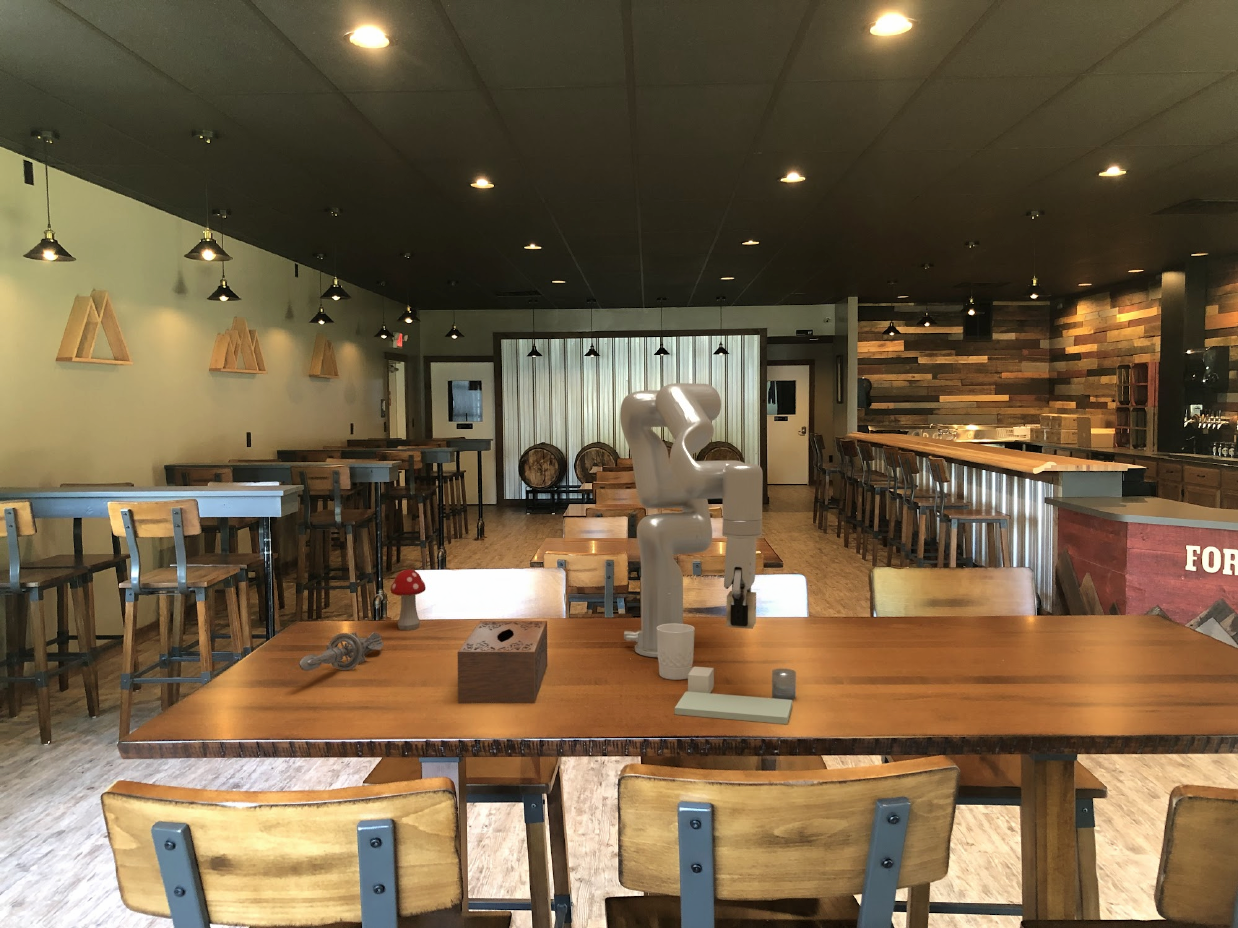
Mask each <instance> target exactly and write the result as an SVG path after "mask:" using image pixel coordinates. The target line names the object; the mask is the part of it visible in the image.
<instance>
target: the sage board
mask: <svg viewBox="0 0 1238 928" xmlns="http://www.w3.org/2000/svg"><path fill="white" fill-rule="evenodd" d="M792 708H793V701H792V700H786V699H774V698H772V697H770V698H769V697H761V696H759V697H758V696H748V695H734V694H723V693H712V692H711V693H699V692H688V690H687V691H685V692H684V694H683V695H682V696H681V697H680V699H679V700H678V703H677V704H676V705H675V706H674V715H676V716H677V715H678V716H687V717H688V716H690V717H700V718H701V717H702V718H712V719H713V718H714V719H723V720H732V721H733V720H735V721H745V722H749V721H750V722H758V723H769V724H778V725H779V724H780V725H788V724H789V719H790V716H791V712H792Z"/></svg>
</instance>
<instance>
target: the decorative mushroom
mask: <svg viewBox="0 0 1238 928" xmlns="http://www.w3.org/2000/svg"><path fill="white" fill-rule="evenodd" d="M425 591H426V584H425V581H424V580H423V579H422V576H421V575H420V574H419V572H417V571H416V570H414V569H410V568H409V569H404V570H402V571H400V572H399V573H398V574H397V575H396V577H395V579H394V581H393V583H392V584H391V585H390V593H391V595H395V596H397V597H398V596H399V597H400V614H399V618H398V621H397V627H398V629H399V631H412V630H417V629H419V626H420V623H421V621H420V619H419V615H418V610H417V603H416V601H417V599H416V596H417V595H420V594H422V593H424V592H425Z"/></svg>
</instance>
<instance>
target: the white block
mask: <svg viewBox="0 0 1238 928" xmlns="http://www.w3.org/2000/svg"><path fill="white" fill-rule="evenodd" d="M714 676H715V669H714V667H706V666H705V667H703V666H692V670H691V671H690V673H689V674H688V678H687V692H699V693H712V691H713V690H714V687H715V679H714V678H715V677H714Z"/></svg>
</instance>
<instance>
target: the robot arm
mask: <svg viewBox="0 0 1238 928" xmlns="http://www.w3.org/2000/svg"><path fill="white" fill-rule="evenodd" d="M721 409H722V400H721V396H720V394H719V392H718V391H717V389H716V388H715V387H714V386H712V385H711V384H707V383H694V382H693V383H691V382H689V383H688V382H687V383H686V382H685V383H683V382H677V383H670V384H667V385H664V386H662V387H661V388H660V389H659V390H657V389H656V390H655V389H653V390H652V389H649V390H648V389H647V390H638V391H633V392H631V393H629V394H627V395H625V397H624V398H623V399H622V402H621V405H620V409H619V410H620V411H619V414H620V415H619V418H620V426H621V429H622V430H621V431H622V433H623V436H624V438H625V441H626V444H627V445H628V448H629V451H630V455H631V461H632V467H633V473H634V474H633V476H634V481H635V489H636V493H637V498H638V501H639V503H640V504H641V506H642V507H643V508H646V509H653V510H654V509H656V510H658V509H661V510H662V509H664V510H665V509H681V511H682V512H664V513H663V512H661V513H660V512H659V513H658V512H657V513H653V514H649V515H646V516H644V517H643V518H642V519H641V520H640V521H639V522H638V524H637V526H636V527H637V528H636V539H637V545H638V550H639V557H640V572H641V573H640V574H641V575H640V576H641V578H640V583H641V586H640V587H641V593H640V595H641V596H640V597H641V602H640V603H641V605H640V606H641V613H640V614H641V618H640V619H641V620H640V621H641V629H640V630H636V631H632V630H624V631H623V639H624V640H626V641H627V642H635V643H636V644H635V645H634V651H635V652H636V654H639V655H641V656H644V657H648V658H658V650H657V627H658V626H659V625H663V624H684V576H683V571H682V569H681V567H680V565H679V564H678V563H677V561H676V560H675V559H674V556H677V555H686V554H697V553H698V554H699V553H703V552H706V551H707V550H708V549H709V548H710V547H711V545H712V541H713V525H712V520H711V513H710V508H709V502H708V501H709V500H713V499H722V525H721V527H722V529H721V531H722V532H721V533H722V537H725V538H726V544H725V556H724V573H723V575H724V577H723V578H724V580H723V587H724V589H727V590H728V589H729V588H731V591H732V597H731V625H732V626H747V625H748V605H746V602H747V592H752V586H753V585H754V583H755V581H756V580H755V579H756V569H757V566H756V565H757V563H756V562H757V539H758V538H762V536H763V481H764V480H763V469H762V467H761V466H760V465H759V464H754V463H746V462H744V461H740V460H695V459H694V458H693V456H692V455H693V454H695V453H698V452H699V451H700V450H702V449H704V448H705V447H707V446H708V444H709V443H710V442H711V441H712V439H713V437H714V432H715V428H714V424H713V423H712V422H713V421H715V420H716V419H717V418H718V417H719V415H720V413H721ZM653 428H667V429H668V431H669V433H670V434H671V436H672V437H673V440H674V441H673V443H672V445H671V449H670V454H669V453H668V452H669V451H668V448H667V446H666V444H665V442H664V441H663V439H662V438H661V437H660V436H659V434H657V432H655V431H654V430H653ZM741 592H743V594H742V593H741Z"/></svg>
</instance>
